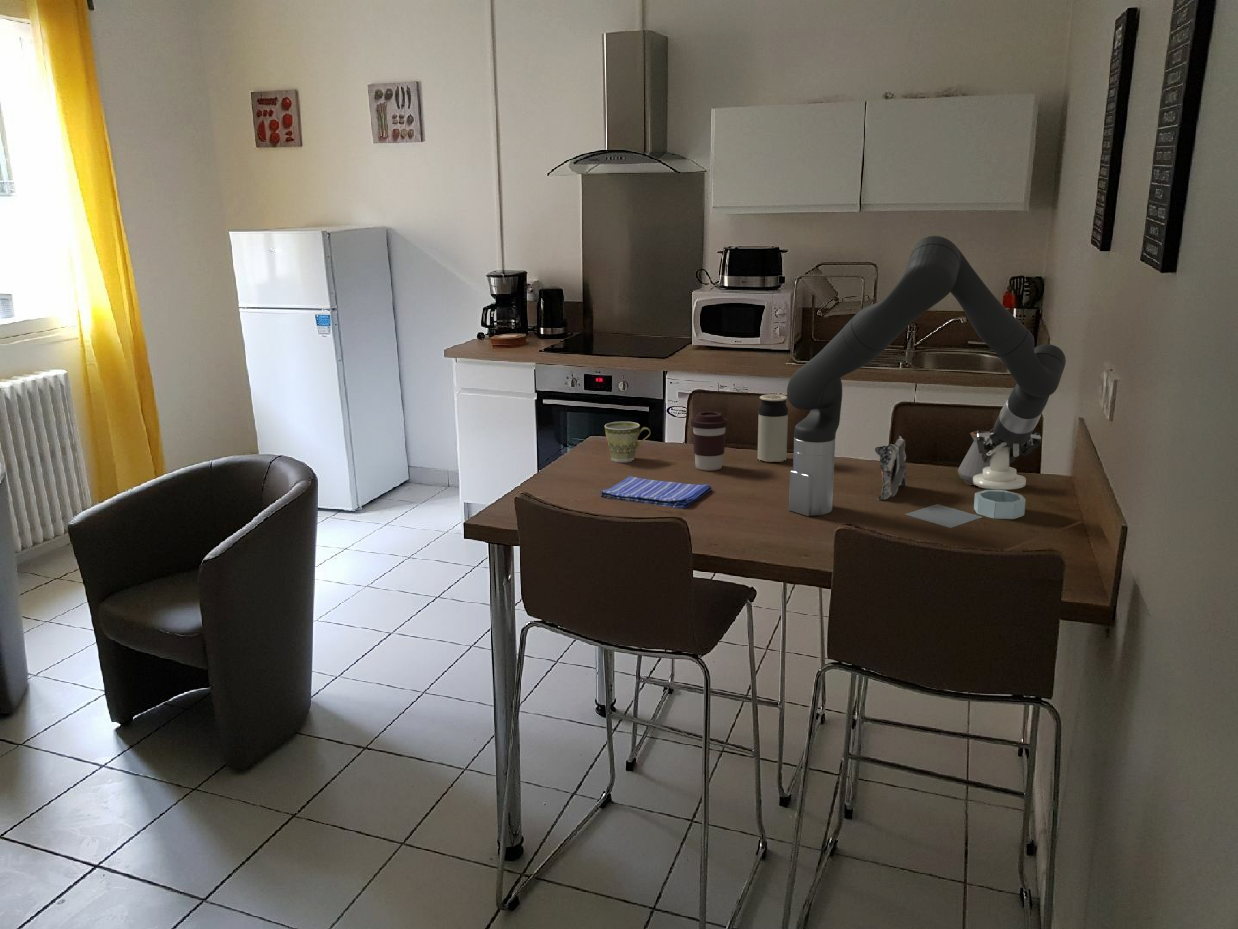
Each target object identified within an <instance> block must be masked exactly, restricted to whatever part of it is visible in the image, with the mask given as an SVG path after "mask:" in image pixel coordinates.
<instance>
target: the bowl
mask: <svg viewBox="0 0 1238 929" xmlns="http://www.w3.org/2000/svg"><path fill="white" fill-rule="evenodd" d="M1026 500H1027V499H1025V497H1024V496H1023V495H1022V494H1020V493H1016V492H1012V491H1008V490H997V489H984V490H981V491H977V492H975V493H974V503H973V509H974V511H975V512H976V515H979V516H982V517H987V518H991V519H997V520H998V519H999V520H1000V519H1001V520H1015V519H1018V518H1020V517H1021V518H1022V517H1023V516H1025V513H1026V512H1025V511H1026V502H1027V501H1026Z"/></svg>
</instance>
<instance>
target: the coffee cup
mask: <svg viewBox="0 0 1238 929" xmlns="http://www.w3.org/2000/svg"><path fill="white" fill-rule="evenodd" d="M728 420H729V419H728V418H726V417H724V416H723V413H721V412H717V411H701V412H697V413H696V415H695V417H693V418H691V419H690V426H691V427H693V428H692V429H693V430H692V440H693V454H694V459H695V460H694V461H695V468H696V469H698V470H700V471H707V472H708V471H711V472H712V471H713V472H714V471H718V470H721V469H722V468H723V461H724V454H725V447H726V435H727V432H726V427H728V425H729V424H728V423H729V421H728Z"/></svg>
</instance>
